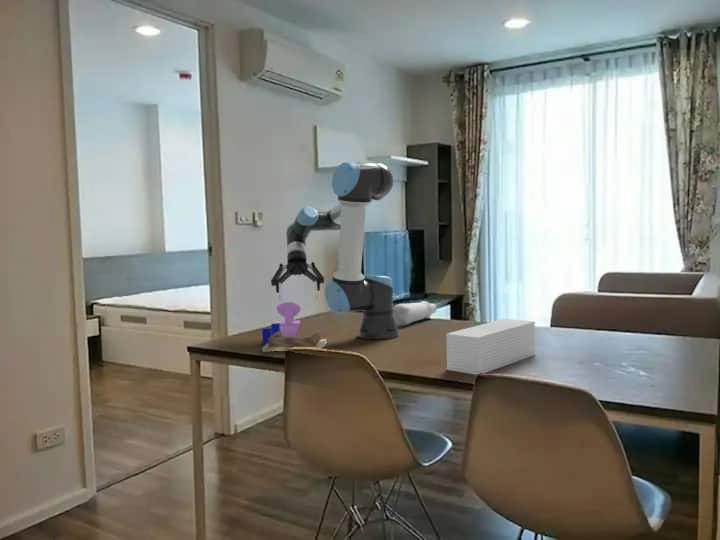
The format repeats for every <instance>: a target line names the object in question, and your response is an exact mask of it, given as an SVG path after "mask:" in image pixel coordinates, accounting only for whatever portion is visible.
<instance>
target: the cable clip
mask: <svg viewBox="0 0 720 540" xmlns="http://www.w3.org/2000/svg"><path fill="white" fill-rule="evenodd" d="M280 323H281V322H279V323H274V322H272V323H271V327H270V328H269V327H267V328H265V327H264V328H261V330H262V332H261V333H262V345H263V346H265V345H266V344H268V338H270V337H271V336H272V335H273V334H275V333H276V332H281V330H280ZM281 333H282V332H281Z"/></svg>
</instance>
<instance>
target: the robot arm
mask: <svg viewBox="0 0 720 540" xmlns="http://www.w3.org/2000/svg"><path fill="white" fill-rule="evenodd" d="M331 178H332V180H331V187H332V191H333V193H334V194H335V195H336V196H337V201H338V202H339V203H337V204H336V205H335V206H334V207H333V208H331V209H330V210H329V211H317V210H316V209H315V208H314V207H310V206H303V207H302V208H301V209H300V210H299V211H298V213H297V214H296V217H295V220H294V221H293V222H292V223H291V224H289V225H288V226H287V228H286V233H285V234H286V256H287V257H286V258H287V261H286V262H287V263H286V265H285V264H283V263H279V266H278V268H277V271H276V272H275V274H273V276H272V278H271V280H270V282H271V286H272V287H275V292H276V293H277V294H278V298H279V299H278V300H279V301H282V285H283V283H284V282H285V281H286V280H287V279H289V278H290V277H291V276H297V275H298V276H301V275H303V276H305V277H307V278H308V279H309V280H311V281H312V282H313V283H314V290H315V291H314V292H315V293H314V295H315V300H316V299H318V298H319V297H318V296H319V295H318V291H320V290H321V284H324V283H325V277H324V276H323V274H322V273H321V271H320V270H319V269H318V268H317V266H316V264H315V262H314V261H312V262H311V263H307V245H306V240H307V238H308V236H309V234H311V232H315V231H316V232H317V231H338V230H339V239H338V255H337V267H336V268H337V269H336V271H335V272H334V273H333V274H332V280H331V281H329V282H328V283H326V285H325V289H324V296H325V301H326V304H327V305H328V307H329V309H330V310H332V312H333V313H336V314H349V313H355V312H361V311H362V317H361V321H360V324H359V328H358V337H359V338H361V339H364V340H365V339H366V340H389V339H392V338H393V339H394V338H397V337H398V336H399V331H400V330H399V326H397V324H396V321H395V318H394V315H393V307H394V286H393V279H392V277H390V276H385V275H376V274H375V275H374V274H363V273H362V261H363V253H364V238H365V237H364V235H365V226H366V213H367V212H366V210H367V207H368V206H369V205H370V204H372V203H373V202H374V201H375V202H376V201H377V202H378V201H380V200H382V199H383V198H385V197H386V196H387V195H389V193H390V192H391V190H392V188H393V185H394V176H393V174H392V171H391V169H390V168H389V167H388V166H386V165H384V164H383V163H380V162H365V161H364V162H362V161H345V162H341V163H340V164H339V165H338V166H337V167H336V168H335V169H334V172H333V174H332V177H331ZM309 269H310V270H311V271H312V272H311V271H310V270H309ZM285 270H286V271H285ZM284 271H285V272H284ZM283 272H284V273H283Z"/></svg>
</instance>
